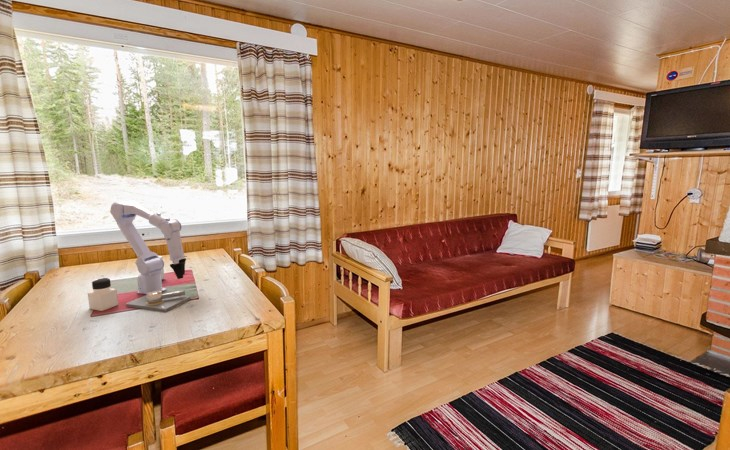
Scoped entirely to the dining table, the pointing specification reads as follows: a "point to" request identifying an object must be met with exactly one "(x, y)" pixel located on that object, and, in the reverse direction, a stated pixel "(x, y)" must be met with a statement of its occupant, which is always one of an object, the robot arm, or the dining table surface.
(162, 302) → the board
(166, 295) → the tan piece
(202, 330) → the dining table surface
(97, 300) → the medicine bottle
